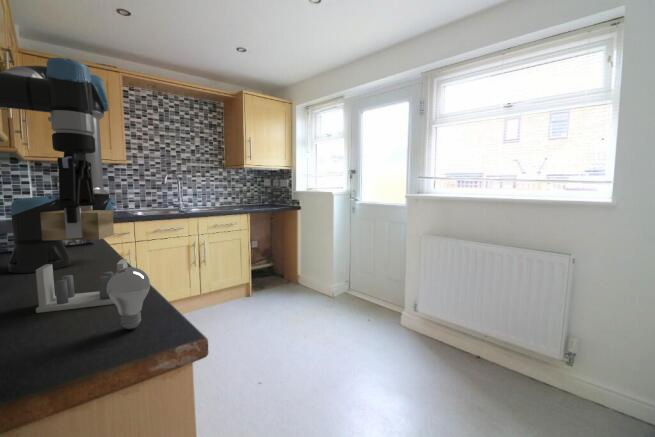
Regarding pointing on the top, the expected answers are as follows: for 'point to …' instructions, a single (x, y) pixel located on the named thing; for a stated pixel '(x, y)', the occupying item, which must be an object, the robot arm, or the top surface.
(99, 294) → the peg stand
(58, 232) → the wooden block
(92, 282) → the top surface
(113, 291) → the light bulb
